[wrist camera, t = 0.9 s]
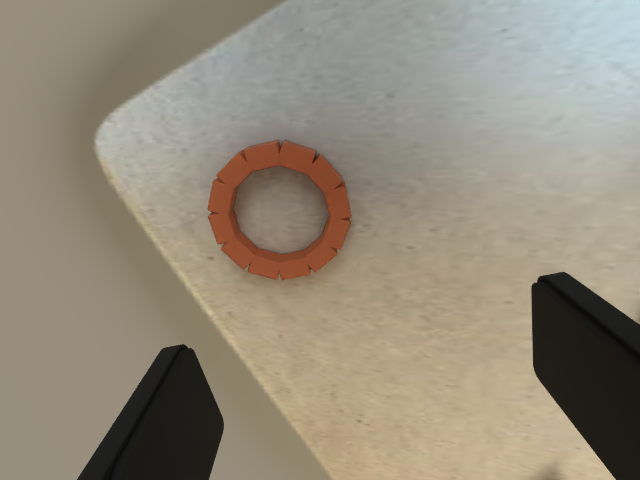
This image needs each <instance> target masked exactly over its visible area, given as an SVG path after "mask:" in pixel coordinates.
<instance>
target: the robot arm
mask: <svg viewBox="0 0 640 480" xmlns="http://www.w3.org/2000/svg"><path fill="white" fill-rule="evenodd" d="M531 290H532V335H533V367H534V371H535V373H536V375H537V377H538V379H539V380H540V382H541V383H542V384H543V386H544V387H545V388H546V390H547V391H548V392H549V393H550V395H551V396H552V397H553V399H554V400H555V401H556V403H557V404H558V405H559V406H560V408H561V409H562V410H563V412H564V413H565V414H566V415H567V417H568V418H569V419H570V421H571V422H572V423H573V425H574V426H575V427H576V428H577V430H578V431H579V432H580V434H581V435H582V436H583V438H584V439H585V440H586V441H587V443H588V444H589V445H590V447H591V448H592V449H593V451H594V452H595V453H596V454H597V456H598V457H599V458H600V460H601V461H602V462H603V464H604V465H605V466H606V467H607V469H608V470H609V471H610V473H611V474H612V475H613V476H614V478H615V479H616V480H640V325H639V324H638V323H636V322H635V321H633V320H632V319H631V318H629V317H628V316H626V315H625V314H624V313H622V312H621V311H619V310H618V309H617V308H615V307H614V306H612V305H611V304H610V303H608V302H607V301H605V300H604V299H603V298H601V297H600V296H598V295H597V294H595V293H594V292H593V291H591V290H590V289H588V288H587V287H586V286H584V285H583V284H581V283H580V282H579V281H577V280H576V279H574V278H573V277H572V276H570V275H569V274H567V273H565V272H560V273H555V274H549V275H544V276H540V277H539V278H538V280H537V283H534V284H532V289H531ZM223 429H224V422H223V418H222V415H221V413H220V410H219V408H218V406H217V403H216V401H215V399H214V396H213V394H212V392H211V389H210V387H209V385H208V382H207V380H206V378H205V375H204V373H203V371H202V368H201V366H200V364H199V361H198V359H197V357H196V354H195V352H194V350H193V349H191V348H188V347H187V346H186V345H184V344H182V345H176V346H171V347H166V348H163V349H162V350H161V351H160V353H159V354H158V356H157V357H156V359H155V360H154V362H153V363H152V365H151V366H150V368H149V369H148V371H147V373H146V374H145V376H144V377H143V379H142V380H141V382H140V383H139V385H138V387H137V388H136V390H135V391H134V393H133V394H132V396H131V397H130V399H129V401H128V402H127V403H126V405H125V406H124V408H123V410H122V411H121V413H120V414H119V416H118V417H117V419H116V421H115V422H114V423H113V425H112V427H111V428H110V430H109V431H108V433H107V434H106V436H105V437H104V439H103V441H102V442H101V443H100V445H99V447H98V448H97V450H96V451H95V453H94V454H93V456H92V458H91V459H90V461H89V462H88V464H87V465H86V467H85V468H84V470H83V471H82V473H81V474H80V476H79V477H78V479H77V480H209V477H210V474H211V470H212V467H213V464H214V460H215V457H216V454H217V450H218V447H219V443H220V441H221V437H222V434H223Z"/></svg>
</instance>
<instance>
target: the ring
mask: <svg viewBox="0 0 640 480" xmlns="http://www.w3.org/2000/svg"><path fill="white" fill-rule="evenodd" d="M314 156H315V150H314V149H311V148H307V147H304V146H301V145H298V144H295V143H292V142H289V141H286V140H285V141H284V142H283V143H282V146H280V142H279V140H276V141H272V142H267V143H263V144H259V145H254V146H250V147H248V148H246V149H245V150H244V151H243V150H242V151H241V152H239V153H238V154H237V155H236V156H235V157H234V158H233V159H232V160H231V161H230V162H229V163H228V164H227V165H226V166H225V167H224V168H223V169H222V170H221V171H220V172H219V173H218V174H217V177H218V178H217V179H215V180H214V181H213V185H212V190H211V195H210V199H209V204H208V211H211V213H210V214H209V216H208V218H209V221H210V224H211V227H212V229H213V232H214V235H215V238H216V241H217V243H218V244H222V243H224V245H223V246H222V248H221V250H222V251H223V252H225V253H226V254H227V255H228V256H229V257H230V258H231V259H232V260H233V261H234V262H236V263H237V264H238V265H239V266H240V267H241V268H242V269H244V268H245V267H246V266H247V265H249V264H250V265H249V269H248V272H250V273H254V274H258V275H261V276H265V277H268V278H272V279H275V280H276V279H277V277H278V274H279V272H280V276H281V279H282V280H285V279H290V278H295V277H300V276H306V275H310V274H311V269H312V270H313V271H314V272H316V271H318V270H319V269H320V268H321V267H322V266H324V265H325V264H326V263H327V262H329V261H330V260H331V259H332V258H333V257H335V256H336V255H337V249H339V250H341V248H342V245H343V242H344V240H345V237H346V234H347V232H348V229H349V226H350V223H351V222H350V217H351V212H350V207H349V202H348V197H347V192H346V187H345V183H344V182H342V177H341V175H340V174H339V173H338V172H337V171H336V170H335V169H334V168H333V167H332V165H331V164H330V163H329V162H328V161H327V160H326V159H325V158H324V157H323V155H322V154H319V155H318V156H317V157H316V158H315V159H314ZM313 159H314V160H313ZM279 165H280V166H283V167H286V168H289V169H292V170H295V171H299V172H302V173H305V174H307V175H308V177H309V178H310V179H311V180H312V181H313V182H314V183H315V184H316V185H317V186H318V187H319V188H320V189H321V190H322V192H323V193H324V194H325V198H326V203H327V207H328V212H329V216H328V219H327V222H326V225H325V228H324V231H323V234H322V236H320V237H319V238H318V239H317V240H316V241H314V242H313V243H312V244H311V245H310V246H309V247H307V248H306V249H305V250H302V251H297V252H292V253H287V254H282V255H280V254H277V253H273V252H270V251H266V250H263V249H259V248H258V247H257V246H255V245H254V244H253V243H252V242H251V241H250V240H249V239H248V238H247V237H246V236H245V235H244V234H243V233H242V232H241V231H240V229H239V226H238V223H237V220H236V217H235V213H234V210H233V206H234V202H235V197H236V193H237V189H238V185H239V184H240V183H241V182H242V181H243V180H245V179H246V178H247V177H248V176H249V175H250V174H251V173H252V172H253V171H257V170H261V169H266V168H270V167H275V166H279Z"/></svg>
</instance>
